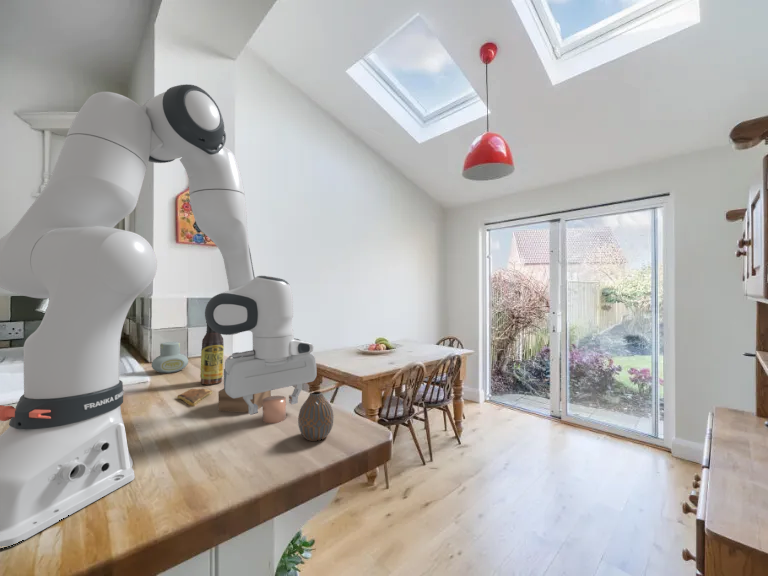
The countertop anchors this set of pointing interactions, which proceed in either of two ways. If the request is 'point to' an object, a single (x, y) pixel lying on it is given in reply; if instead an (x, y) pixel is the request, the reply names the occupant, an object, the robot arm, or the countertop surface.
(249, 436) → the countertop surface
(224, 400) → the base block
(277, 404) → the peach pillar candle
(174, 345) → the air freshener
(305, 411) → the vase
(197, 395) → the toasted sandwich
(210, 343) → the sauce bottle
